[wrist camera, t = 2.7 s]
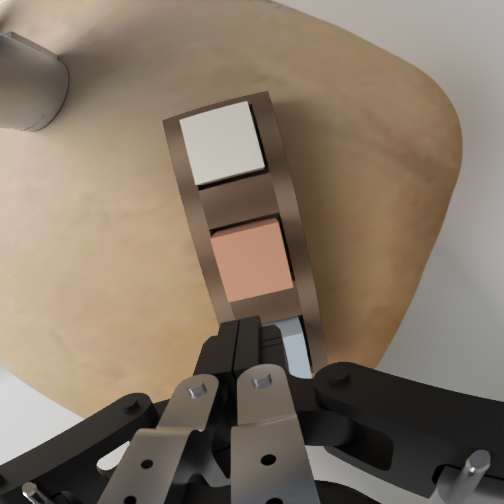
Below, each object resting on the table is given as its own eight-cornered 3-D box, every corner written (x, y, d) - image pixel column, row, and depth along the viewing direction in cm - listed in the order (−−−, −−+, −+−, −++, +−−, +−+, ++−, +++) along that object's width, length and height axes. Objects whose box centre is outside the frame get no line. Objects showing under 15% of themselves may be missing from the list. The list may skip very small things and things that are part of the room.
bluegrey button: (243, 326, 26) (241, 346, 23) (297, 314, 26) (302, 332, 23) (256, 369, 27) (256, 391, 24) (306, 358, 27) (312, 379, 24)
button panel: (175, 128, 25) (162, 120, 21) (266, 103, 25) (267, 90, 21) (242, 365, 31) (240, 387, 27) (321, 347, 30) (328, 368, 26)
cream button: (189, 128, 23) (179, 119, 19) (248, 112, 22) (247, 101, 19) (204, 184, 24) (195, 185, 20) (263, 169, 23) (264, 166, 20)
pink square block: (216, 231, 24) (210, 238, 21) (275, 216, 24) (278, 222, 21) (232, 286, 26) (228, 302, 22) (288, 273, 25) (293, 287, 22)
